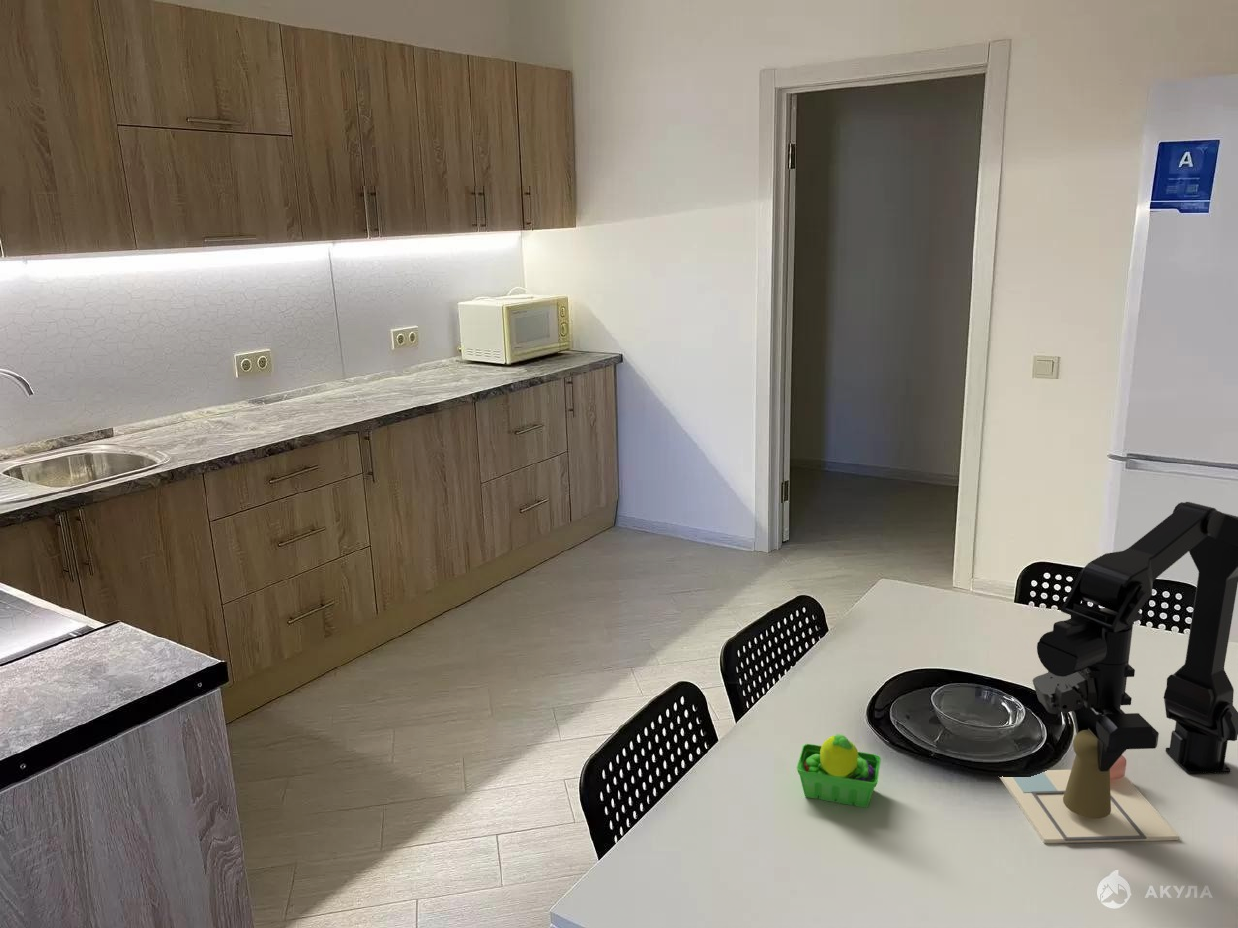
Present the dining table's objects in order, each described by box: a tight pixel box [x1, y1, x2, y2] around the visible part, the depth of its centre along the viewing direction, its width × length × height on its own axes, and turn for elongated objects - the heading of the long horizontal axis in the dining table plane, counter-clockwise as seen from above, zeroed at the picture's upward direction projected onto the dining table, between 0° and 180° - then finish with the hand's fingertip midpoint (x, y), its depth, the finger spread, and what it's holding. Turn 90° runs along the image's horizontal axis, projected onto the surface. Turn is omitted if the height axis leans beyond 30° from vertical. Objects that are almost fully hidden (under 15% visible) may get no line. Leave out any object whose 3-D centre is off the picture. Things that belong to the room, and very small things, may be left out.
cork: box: [1063, 730, 1111, 819], centre depth 131 cm, size 6×6×11 cm
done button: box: [1110, 754, 1127, 779], centre depth 140 cm, size 5×5×2 cm
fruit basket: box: [796, 733, 882, 809], centre depth 138 cm, size 11×9×11 cm
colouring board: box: [999, 769, 1180, 844], centre depth 135 cm, size 18×16×1 cm
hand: (1093, 759), depth 130 cm, fingers closed on cork, 5 cm apart
